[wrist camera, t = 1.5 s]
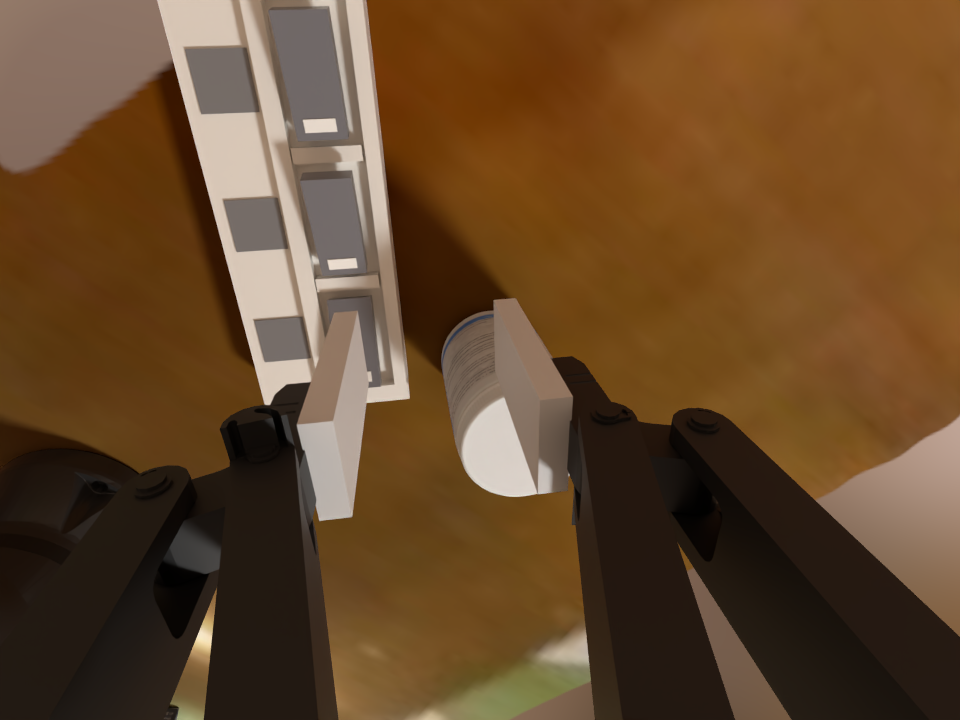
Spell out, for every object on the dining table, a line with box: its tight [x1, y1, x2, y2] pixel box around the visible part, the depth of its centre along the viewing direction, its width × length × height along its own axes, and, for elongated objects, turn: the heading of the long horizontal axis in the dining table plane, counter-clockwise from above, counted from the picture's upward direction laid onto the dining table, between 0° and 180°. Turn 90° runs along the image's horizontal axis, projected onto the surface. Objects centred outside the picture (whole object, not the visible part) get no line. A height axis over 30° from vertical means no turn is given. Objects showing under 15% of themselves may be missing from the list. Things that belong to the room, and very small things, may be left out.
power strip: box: [157, 0, 410, 405], centre depth 39 cm, size 12×36×5 cm, turn 2°
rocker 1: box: [268, 6, 350, 141], centre depth 31 cm, size 3×7×2 cm, turn 2°
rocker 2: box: [300, 170, 368, 276], centre depth 35 cm, size 3×7×2 cm, turn 2°
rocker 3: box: [327, 295, 382, 388], centre depth 39 cm, size 3×7×2 cm, turn 2°
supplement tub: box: [441, 311, 570, 497], centre depth 41 cm, size 10×10×15 cm
